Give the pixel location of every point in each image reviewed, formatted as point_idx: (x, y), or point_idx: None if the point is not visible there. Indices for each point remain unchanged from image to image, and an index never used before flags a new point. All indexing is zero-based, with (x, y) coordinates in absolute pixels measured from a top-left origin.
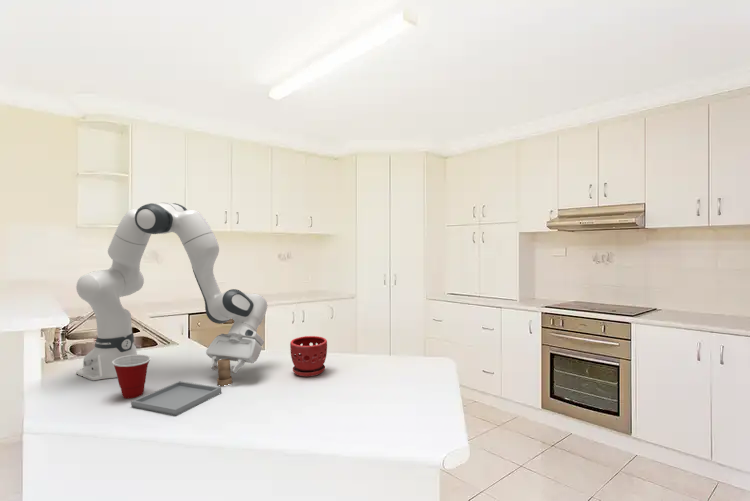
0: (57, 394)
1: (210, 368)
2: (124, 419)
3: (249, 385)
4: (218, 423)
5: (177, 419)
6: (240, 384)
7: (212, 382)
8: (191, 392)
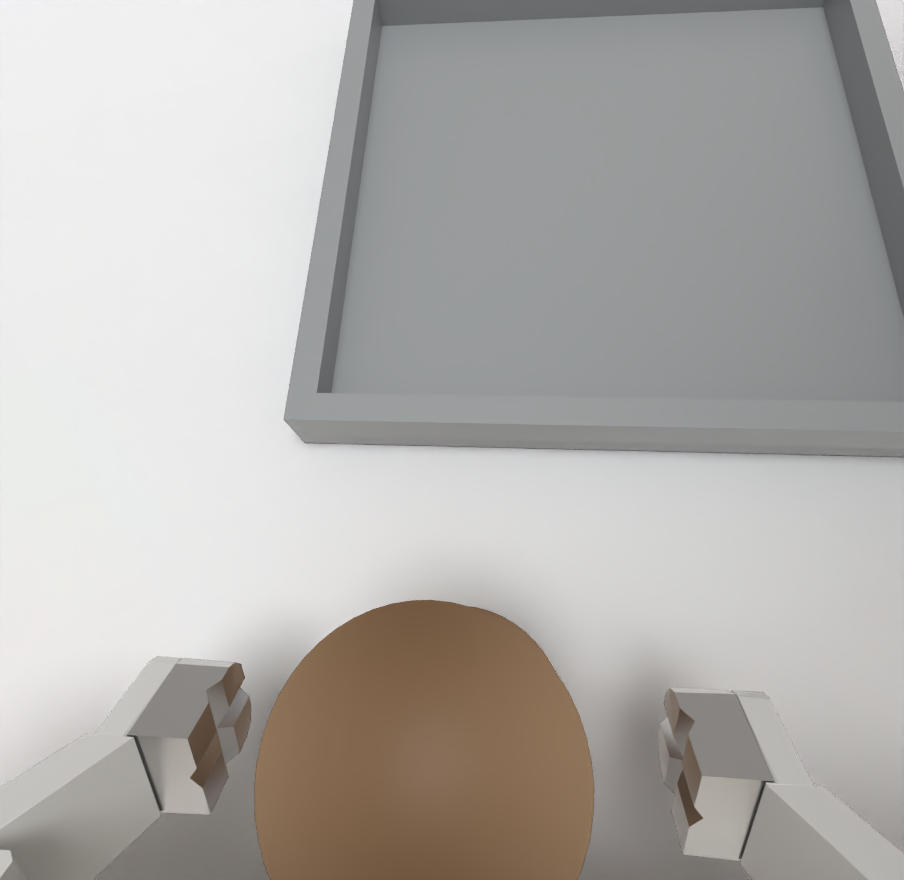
0: None
1: (756, 694)
2: None
3: None
4: (20, 53)
5: (318, 8)
6: None
7: None
8: (593, 313)
